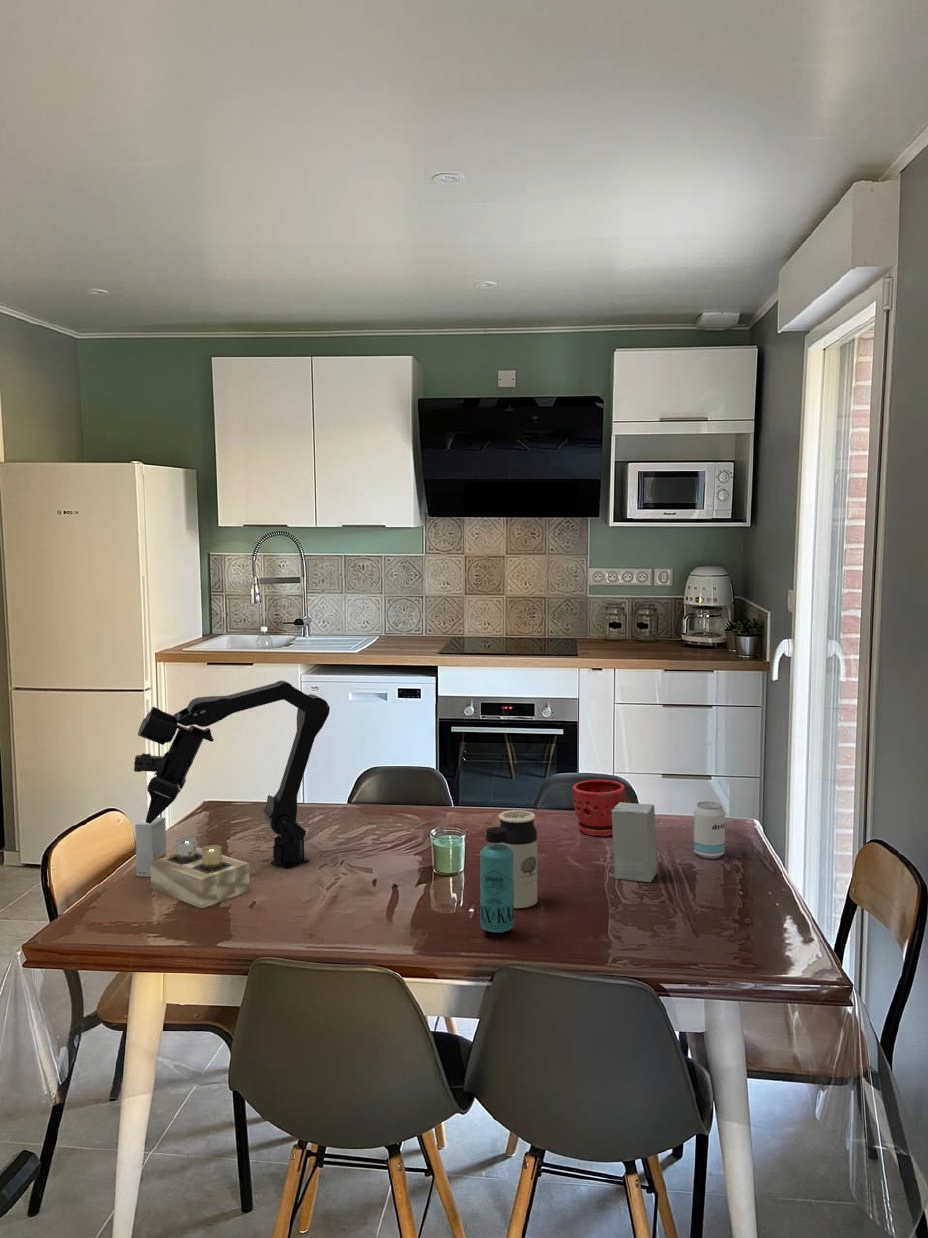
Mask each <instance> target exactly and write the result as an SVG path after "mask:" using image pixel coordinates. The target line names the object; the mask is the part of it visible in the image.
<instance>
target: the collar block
mask: <svg viewBox="0 0 928 1238" xmlns="http://www.w3.org/2000/svg"><path fill="white" fill-rule="evenodd" d="M202 848H203V847H202ZM202 848H201V847H199V846H198V847H197V846H196V858H197V859H195V860H192V861H189V862H186V863H182V862H179V861H177V853H174V854H171V855H168V856H167V855H166V857H164V858H161V859H157V860H154V861H151V862H150V868H151V877H150V889H151V890H152V891H155V892H158V893H161V894H163V895H166V896H168V897H171V898H174V899H176V900H178V901H182V902H185V903H187V904H189V905H192V906H195V907H197V908H199V909H204V908H208V907H210V906H214V905H215V904H218V903H221V902H223V901H226V900H229V899H232V898H235V897H237V896H241V895H243V894H245V893H248V892H250V891H251V888H250V887H251V886H250V884H251V883H250V863H249V862H246V861H243V860H240V859H236V858H234V857H230V856H228V855H224V854H222V868H220V869H217V870H214V871H211V872H209V871H206V870H203V869H202Z"/></svg>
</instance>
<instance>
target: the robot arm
mask: <svg viewBox="0 0 928 1238" xmlns="http://www.w3.org/2000/svg"><path fill="white" fill-rule="evenodd" d="M280 701H284V702H287V703H289V704H290V705H292V706H294V707H296V708H297V710H296V711H297V712H296V733H295V736H294V739H293V743H292V746H291V748H290V752H289V756H288V759H287V761H286V766H285V769H284V772H283V775H282V779H281V782H280V785H279V788H278V790H277V792H276V793H275V795H274V796H273V795H270V794H269V795H267V799H266V804H265V807H264V809H263V810H262V813H263V814H264V821H265V823H266V824H267V826H268V827H269V829H270V830H272V831H273V832H274V833H275V834H276V837H274V840H273V842H274V844H273V846H272V850H273V860H270V864H272V865H275V866H279V867H282V868H285V869H291V868H295V867H298V866H300V865H303V864H306V863H308V862H310V859H309V858H307V857H305V836H306V833H307V830H306V829H304V827H303V826H301V824H300V823H299V822H298V821H297V815H298V795H299V791H300V787H301V784H302V781H303V778H304V774H305V771H306V768H307V764H308V762H309V758H310V755H311V751H312V747H313V744H314V742H315V738H316V737H317V735H318V734H319V732H320V731H321V730H322V729H323V727H324V725H325V723H326V721H327V719H328V717H329V714H330V705H329V703H328V702H327V701H326V699H324V698H321V697H320V696H317V694H316V695H315V694H306V693H304V692H303V691H302V690H300V689H298V688H296V687H294V686H293V685H292V684H291V683H290V682H288V681H286V680H278V681H276V682H274V683H269V684H266V685H263V686H259V687H255V688H251V689H248V690H247V689H246V690H243V691H240V692H236V693H231V694H229V695H212V696H211V695H210V696H199V697H196V698H193V699H192V700H191V701H189V704H187V706H186V707H185V708H184V709H183V708H182V710H180V711H178V712H176V713H174V714H173V715H172V714H171V713H168V712H166V711H163V710H161V709H160V708H158V707H156V706H152V707H151V708H150V711H149V712H148V713H147V714H146V716H145V718H143V720H142V722H141V723H140V726H139V729H138V732H137V736H138V737H140V738H144V739H146V740H148V741H151V742H154V743H157V744H159V745H162V746H164V745H165V744H166V743H167V744H169V743H171V742H172V743H171V745H170V747H169V749H168V751H166V752H165V753H164V754H163V755H162V756H161V755H151V753H144V752H143V753H141V754H137V755H136V756H135V757H134V763H133V764H134V767H133V772H136V773H142V772H152V773H153V772H155V773H154V775H155V776H153V777H151V779H150V781H149V783H148V785H147V787H146V788H147V789H146V791H147V793H148V794H149V797H150V802H149V806H148V810H147V814H146V818H145V819H146V823H149V824H151V823H152V822H153V821H154V820H155V819H156V818H157V817H159V816H160V815H161V814H162V813H163V812H164V811H165V810H166V809H167V808H168V807H169V806H170V805H171V804H172V803H173V802H175V801H176V799H177V797H178V794H179V793H181V791H182V789H183V788H184V787H185V784H186V781H187V778H186V777H187V775H188V774H189V773H188V772H189V771H190V768H191V766H192V765H193V763H194V760H195V758H196V756H197V754H198V752H199V749H200V747H201V745H202V743H203V741H204V740H205V741H206V740H207V741H209V742H211V743H212V742H214V738H213V735H212V729H211V728H209V727H210V726H213V724H215V723H218V722H220V721H222V720H224V719H225V718H227V717H228V716H230V715H233V714H235V713H238V712H243V711H245V710H249V709H253V708H256V707H260V706H264V705H269V704H272V703H275V702H280ZM197 726H198V727H197ZM199 727H200V728H199ZM205 727H207V728H205ZM203 728H205V729H203ZM176 732H177V733H176ZM173 738H174V739H173Z"/></svg>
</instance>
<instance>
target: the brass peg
mask: <svg viewBox="0 0 928 1238" xmlns="http://www.w3.org/2000/svg"><path fill="white" fill-rule="evenodd" d="M222 849H223V848H222V846H221V845H218V844H210V845H205V846H203V847H202V869H203V870H206V871H209V872H211V871H214V870H217V869H220V868H222V855H223V851H222Z"/></svg>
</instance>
